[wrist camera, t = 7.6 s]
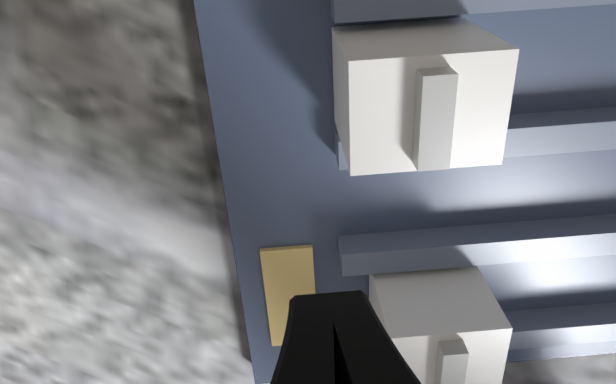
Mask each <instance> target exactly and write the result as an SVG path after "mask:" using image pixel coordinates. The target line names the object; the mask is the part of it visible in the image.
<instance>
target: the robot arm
mask: <svg viewBox="0 0 616 384" xmlns="http://www.w3.org/2000/svg"><path fill="white" fill-rule="evenodd" d="M270 384H421V382H420V381H419V379H418V378H417V377H416V375H415V374H414V372H413V371H412V370H411V368H410V367H409V365H408V364H407V362H406V361H405V360H404V358H403V357H402V355H401V354H400V352H399V351H398V349H397V348H396V346H395V344H394V343H393V341H392V340H391V338H390V336H389V335H388V333H387V332H386V330H385V328H384V327H383V325H382V323H381V322H380V320H379V318H378V316H377V315H376V313H375V311H374V309H373V307H372V305H371V303H370V301H369V299H368V297H367V295H366V294H365V293H364V292H362V291H361V290H355V291H343V292H330V293H318V294H305V295H295V296H294V297H293V298H291V299H290V300H289V312H288V318H287V324H286V329H285V334H284V338H283V342H282V346H281V350H280V354H279V357H278V360H277V364H276V367H275V370H274V373H273V376H272V379H271V383H270Z"/></svg>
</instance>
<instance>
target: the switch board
mask: <svg viewBox="0 0 616 384" xmlns="http://www.w3.org/2000/svg"><path fill="white" fill-rule="evenodd" d="M193 2H194V8H195V14H196V20H197V27H198V33H199V39H200V45H201V51H202V58H203V64H204V70H205V76H206V82H207V89H208V95H209V101H210V107H211V113H212V120H213V126H214V132H215V138H216V144H217V151H218V157H219V163H220V169H221V175H222V182H223V188H224V194H225V200H226V206H227V213H228V219H229V225H230V231H231V237H232V244H233V250H234V256H235V262H236V268H237V274H238V281H239V287H240V293H241V299H242V305H243V312H244V318H245V324H246V330H247V336H248V343H249V349H250V355H251V361H252V367H253V374H254V380H255V384H262V383H271V379H272V376H273V373H274V370H275V367H276V364H277V360H278V357H279V354H280V350H281V346H282V342H283V338H284V334H285V329H286V324H287V318H288V312H289V300H290V299H291V298H293V297H294V296H295V295H305V294H318V293H330V292H343V291H355V290H361V291H362V292H364V293H365V294H366V295H367V297H368V299H369V274H381V273H394V272H406V271H418V270H430V269H443V268H455V267H467V266H477V267H478V269H479V270H480V272H481V274H482V275H483V277H484V279H485V281H486V282H487V284H488V286H489V288H490V289H491V291H492V293H493V295H494V296H495V298H496V300H497V302H498V303H499V305H500V307H501V309H502V310H503V312H504V314H505V316H506V317H507V319H508V321H509V323H510V324H511V326H512V328H513V329H512V334H511V339H510V344H509V349H508V354H507V359H506V363H507V362H518V361H530V360H542V359H553V358H565V357H576V356H588V355H600V354H611V353H616V0H193ZM450 18H465V19H466V20H468V21H470V22H472V23H474V24H475V25H477V26H479V27H481V28H483V29H484V30H486V31H488V32H490V33H492V34H494V35H495V36H497V37H499V38H501V39H503V40H504V41H506V42H508V43H510V44H512V45H513V46H515V47H517V48H519V56H518V62H517V69H516V76H515V82H514V89H513V95H512V102H511V109H510V115H509V122H508V128H507V135H506V141H505V148H504V155H503V161H502V165H489V166H476V167H463V168H450V169H446V170H433V171H420V172H418V171H411V172H398V173H385V174H372V175H359V176H350V173H349V170H348V166H347V163H346V159H345V156H344V152H343V149H342V145H341V142H340V138H339V134H338V131H337V127H336V124H335V120H334V90H333V59H332V28H331V27H336V26H350V25H365V24H379V23H393V22H407V21H421V20H436V19H450Z"/></svg>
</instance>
